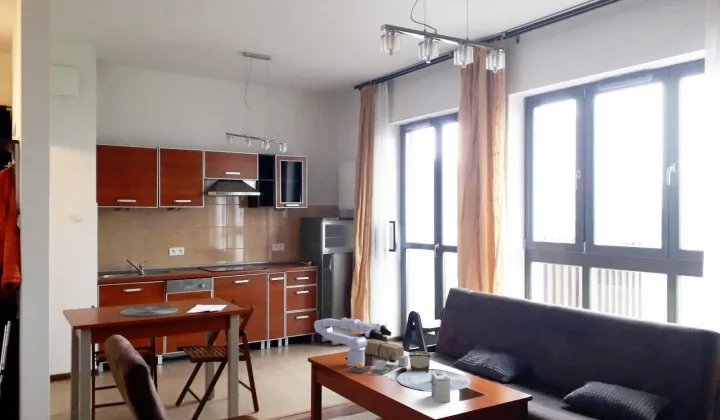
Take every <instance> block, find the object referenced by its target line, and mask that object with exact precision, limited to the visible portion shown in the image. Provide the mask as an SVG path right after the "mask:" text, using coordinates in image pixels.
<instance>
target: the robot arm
mask: <svg viewBox="0 0 720 420" xmlns="http://www.w3.org/2000/svg"><path fill="white" fill-rule="evenodd" d="M333 326H334V327H335V326H337V327H338V326H339V328H341V329H346V330H350V331H351V332H352V331H357V332H360V333H363V334H364V336H360V337H359V336H350V335H347V334H343V333H340V332H337V331H334V328H333ZM313 327H314V331H315V333H318V334H320V335H321V336H322V337H323V338H324V339H325V340H329V341H332V342H335V343H338V344H343V345H346V346H347V347H348V348H349V350H348V351H347V364H346V366H347V367H354V366H356V363H364V365H365V364H366V355H365V354H366V353H365V347H366V346H367V340H368V339H370V340H371V339H374V340H383V339H384V336H388V337H391V336H392V331H391V330H389V329H387V327H386V326H385V325H383V324H382V325H380V326H377V324H376V323H374V324H369V323H366V322H364V321H362V320H361V319H359V318H355V319H353V318H351V317H350V318H347V317H343V318H340V319H335V318H331V317H330V318H324V319H319V320H318V319H317V320H315V321H314V323H313ZM367 338H368V339H367Z"/></svg>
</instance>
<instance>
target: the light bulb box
mask: <svg viewBox="0 0 720 420" xmlns="http://www.w3.org/2000/svg"><path fill="white" fill-rule="evenodd" d="M430 373H431V377H430V378H431V380H430V381H431V391H430V392H431V393H430V395H431V396H432V398H433V400H434V402H435V403H449V402H451V377H450V376H449V375H448V374H447V373H446V372H444V371H443V372H442V371H441V372H430Z"/></svg>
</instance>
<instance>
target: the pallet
mask: <svg viewBox="0 0 720 420" xmlns="http://www.w3.org/2000/svg"><path fill="white" fill-rule="evenodd" d="M401 369H402V368H401V367H399V364H397V365H396V364H390V363H389V364H388V363H385V371H383V372H381V371H375V368H373V369H370V371H368V372H366V374H368V375H375V376H381V377H386V376H389V375H391V374H394V372H397V371H399V370H401Z"/></svg>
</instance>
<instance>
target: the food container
mask: <svg viewBox="0 0 720 420" xmlns="http://www.w3.org/2000/svg"><path fill="white" fill-rule="evenodd" d="M408 358H409V362H410V363H409V365H410V371H421V372H423V371H424V372H426V371H429V372H430V363H431V362H430V361H431V358H432V355H431V353H430V352H427V351H418V350H417V351H411V352H409V353H408Z"/></svg>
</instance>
